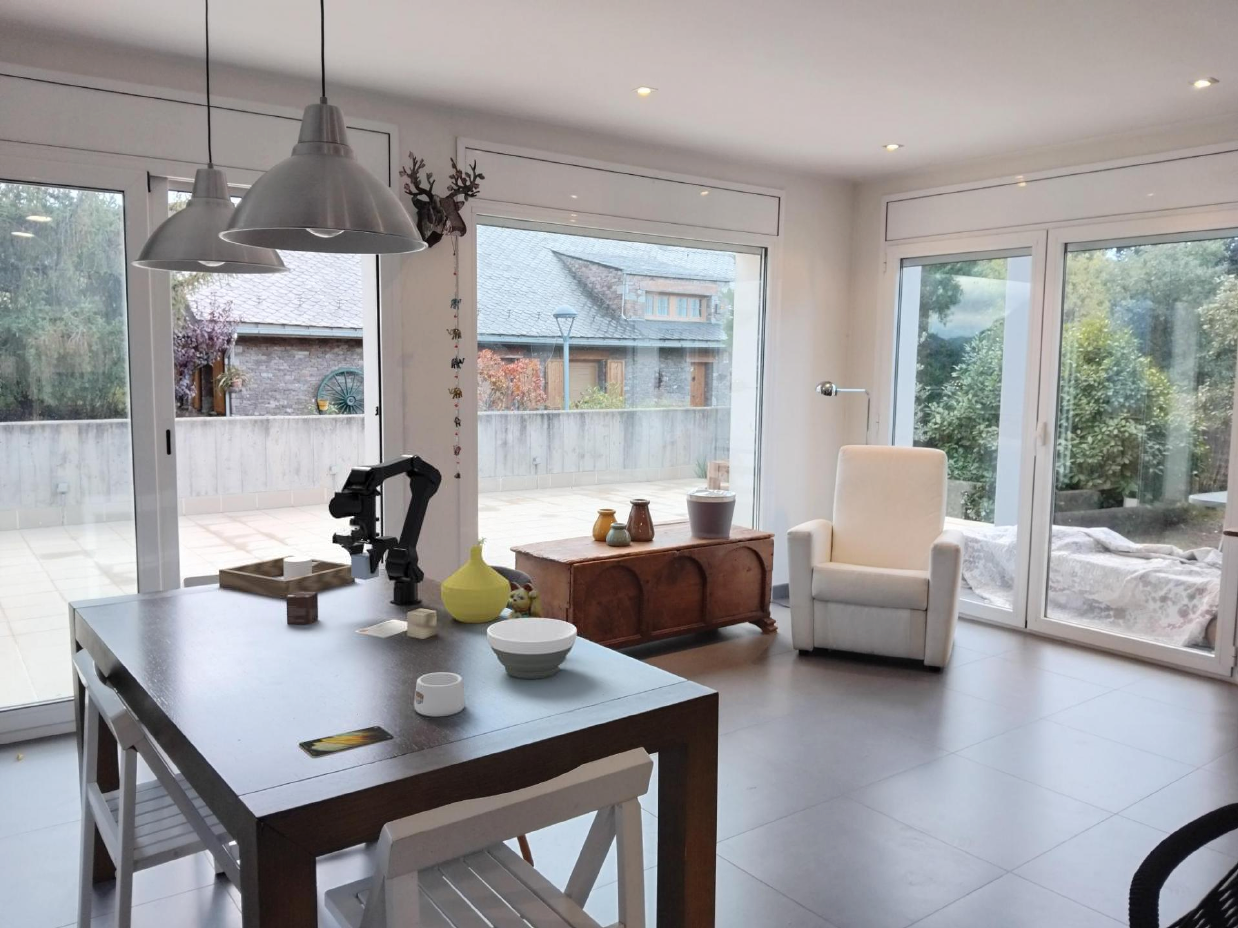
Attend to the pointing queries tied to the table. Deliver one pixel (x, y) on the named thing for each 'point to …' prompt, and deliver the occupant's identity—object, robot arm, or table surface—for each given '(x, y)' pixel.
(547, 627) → the bowl
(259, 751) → the table surface
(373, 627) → the letter
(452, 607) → the vase
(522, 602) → the decorative figurine
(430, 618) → the block
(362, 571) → the cube
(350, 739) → the smartphone
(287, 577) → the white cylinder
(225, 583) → the wooden tray
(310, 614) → the box
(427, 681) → the mug
